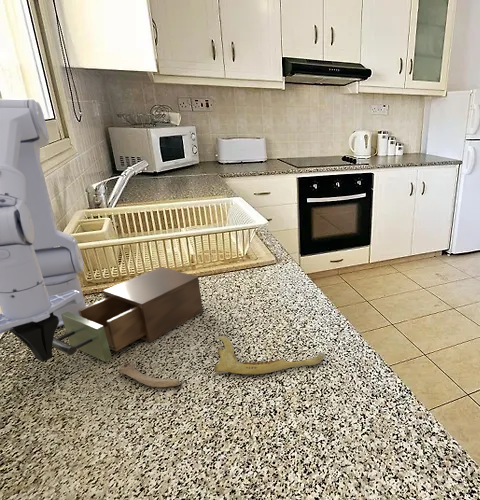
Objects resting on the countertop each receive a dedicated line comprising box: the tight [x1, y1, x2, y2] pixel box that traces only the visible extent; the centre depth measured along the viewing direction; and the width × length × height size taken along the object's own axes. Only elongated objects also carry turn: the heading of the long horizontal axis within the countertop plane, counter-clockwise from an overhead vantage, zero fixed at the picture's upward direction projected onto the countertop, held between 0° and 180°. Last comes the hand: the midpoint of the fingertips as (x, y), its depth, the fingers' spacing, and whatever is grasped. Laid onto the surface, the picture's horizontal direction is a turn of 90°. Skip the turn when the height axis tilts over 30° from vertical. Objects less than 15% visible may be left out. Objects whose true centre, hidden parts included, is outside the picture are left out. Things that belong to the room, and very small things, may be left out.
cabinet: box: [102, 266, 204, 343], centre depth 79 cm, size 14×12×9 cm
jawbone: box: [213, 335, 326, 375], centre depth 67 cm, size 21×9×2 cm, turn 79°
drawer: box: [52, 296, 146, 363], centre depth 70 cm, size 17×10×7 cm, turn 154°
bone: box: [117, 362, 180, 388], centre depth 63 cm, size 3×11×2 cm, turn 72°
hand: (44, 358), depth 62 cm, fingers closed
